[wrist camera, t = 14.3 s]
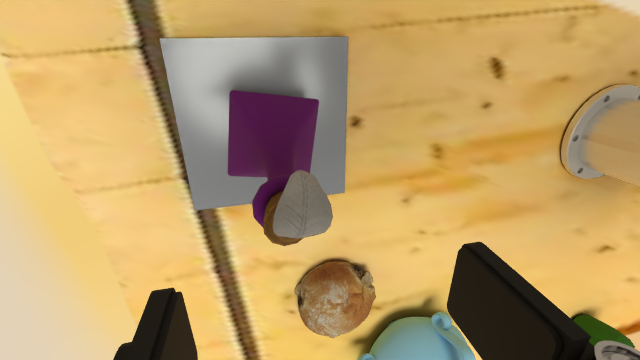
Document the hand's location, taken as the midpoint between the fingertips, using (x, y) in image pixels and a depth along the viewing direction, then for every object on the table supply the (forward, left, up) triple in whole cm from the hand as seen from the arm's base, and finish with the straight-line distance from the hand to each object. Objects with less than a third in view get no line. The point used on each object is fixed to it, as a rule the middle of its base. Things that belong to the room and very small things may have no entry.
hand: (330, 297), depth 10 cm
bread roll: (-7, +23, -24) cm, 33 cm away
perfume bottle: (0, 0, -22) cm, 22 cm away
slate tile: (0, 0, -23) cm, 23 cm away
